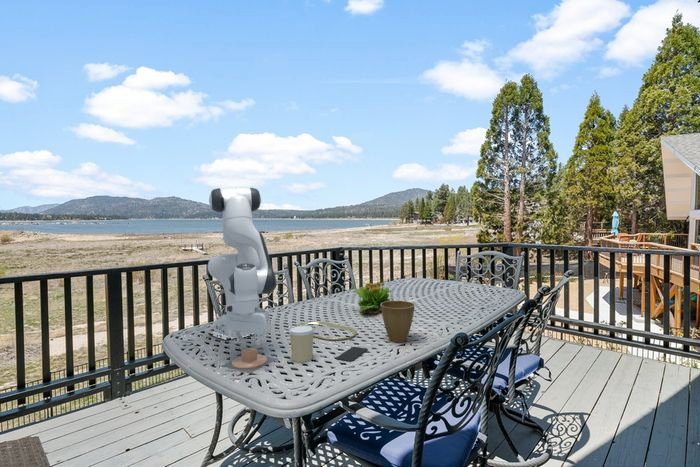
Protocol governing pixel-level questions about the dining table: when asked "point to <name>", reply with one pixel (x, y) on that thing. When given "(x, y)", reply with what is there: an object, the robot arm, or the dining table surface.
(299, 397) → the dining table surface
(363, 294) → the potted flower
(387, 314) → the plant pot
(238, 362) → the lid
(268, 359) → the mat
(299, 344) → the coffee cup
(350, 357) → the phone
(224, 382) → the dining table surface
